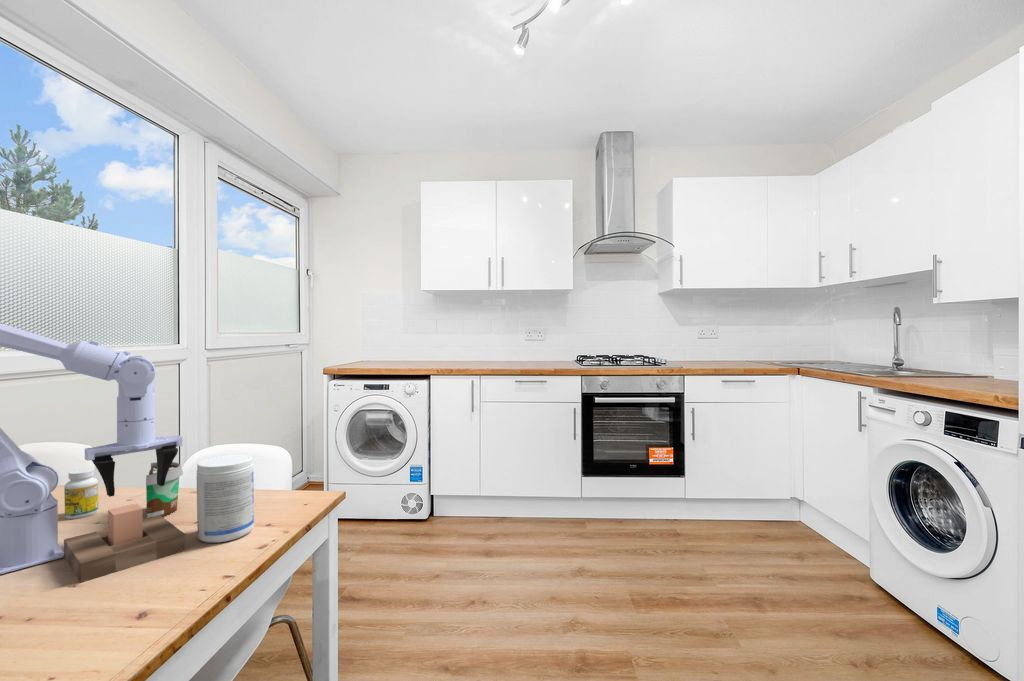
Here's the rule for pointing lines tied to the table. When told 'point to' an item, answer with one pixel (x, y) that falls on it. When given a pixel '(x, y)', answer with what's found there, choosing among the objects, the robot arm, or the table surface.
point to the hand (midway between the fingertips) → (136, 489)
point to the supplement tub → (225, 498)
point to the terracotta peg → (125, 524)
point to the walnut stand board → (121, 549)
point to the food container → (162, 491)
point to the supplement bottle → (81, 494)
